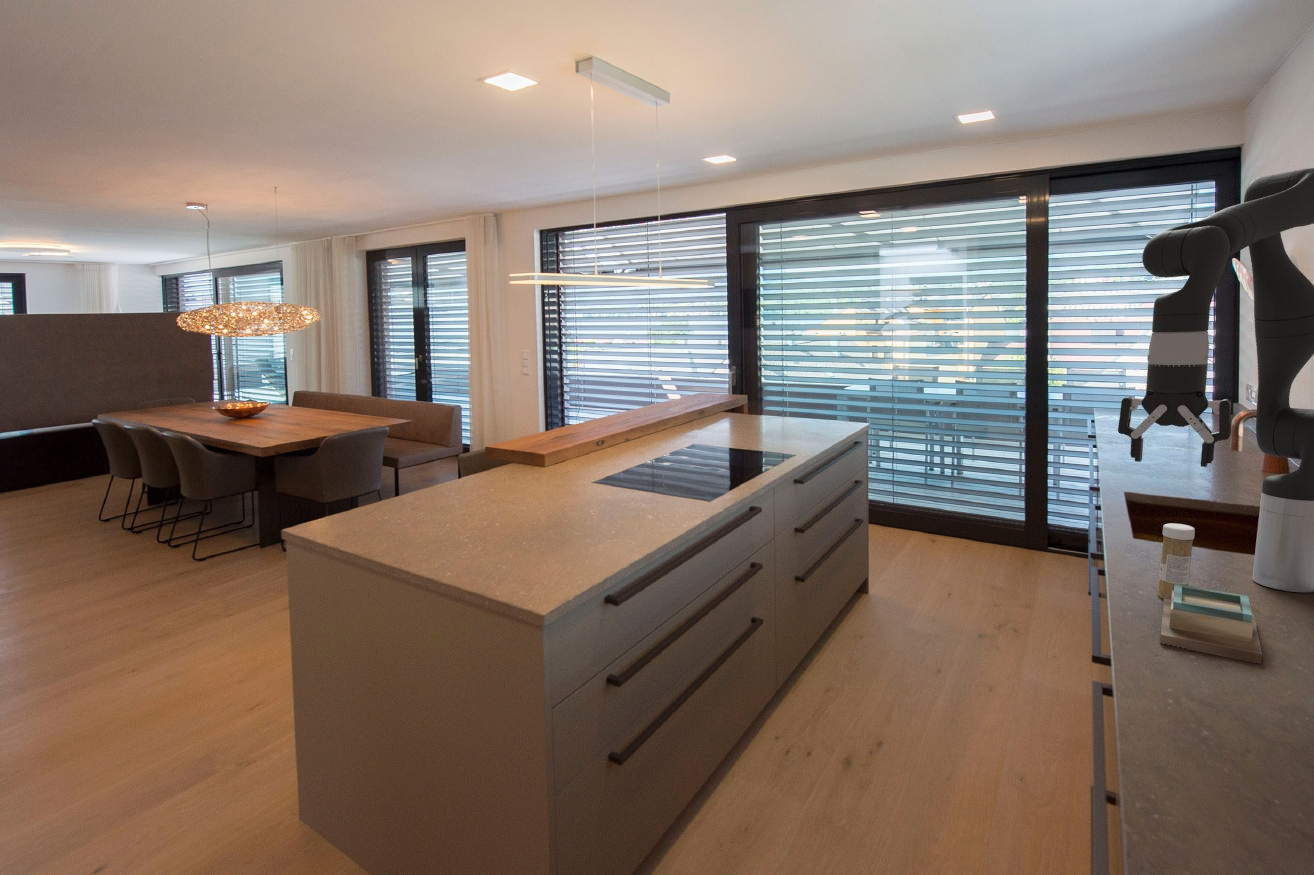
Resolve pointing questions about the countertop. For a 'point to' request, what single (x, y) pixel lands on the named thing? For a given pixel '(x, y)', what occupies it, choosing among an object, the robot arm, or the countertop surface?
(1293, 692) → the countertop surface
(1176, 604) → the build board
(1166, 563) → the sprinkles bottle
